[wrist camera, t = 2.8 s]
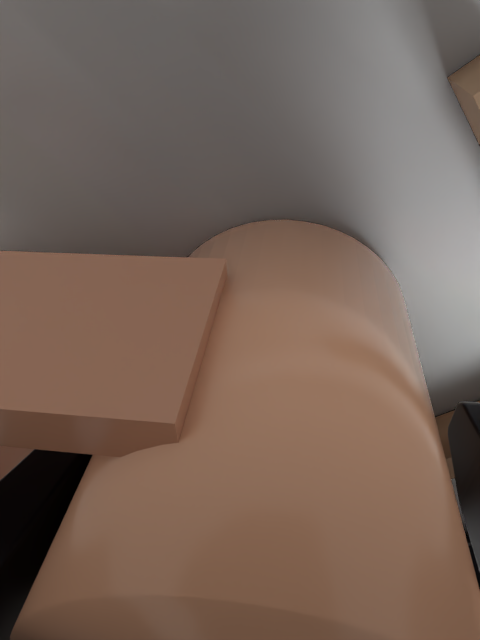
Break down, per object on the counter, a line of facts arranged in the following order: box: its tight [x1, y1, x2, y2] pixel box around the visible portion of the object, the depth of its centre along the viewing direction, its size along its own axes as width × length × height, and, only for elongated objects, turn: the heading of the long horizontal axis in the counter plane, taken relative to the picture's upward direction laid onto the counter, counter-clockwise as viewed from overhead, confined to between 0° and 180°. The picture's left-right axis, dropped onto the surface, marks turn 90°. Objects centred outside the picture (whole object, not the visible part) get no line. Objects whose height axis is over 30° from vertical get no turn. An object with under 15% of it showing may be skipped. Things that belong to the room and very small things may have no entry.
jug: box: [0, 220, 480, 640], centre depth 10 cm, size 14×7×8 cm, turn 92°
